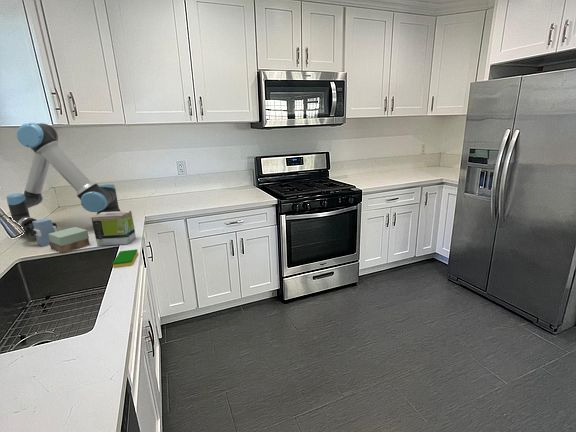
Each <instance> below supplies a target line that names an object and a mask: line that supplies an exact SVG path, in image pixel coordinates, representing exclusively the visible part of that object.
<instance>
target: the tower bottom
mask: <svg viewBox="0 0 576 432" xmlns="http://www.w3.org/2000/svg"><path fill="white" fill-rule="evenodd" d="M49 243H50V245H49V246H50V249H51V250H53V249H54V250H53V251H55V250H56V251H55V252H58V251H59V252H58V253H60V254H65V253H68V252H69V253H70V252H71V251H74V250H75V251H76V250H78V249H81V248H85V247H88V246H90V245H91V244H90V238H88V239H84V240H81V241H77V242H74V243H70V244H67V245H63V246H60V245H57V244H55V243H52V242H49Z"/></svg>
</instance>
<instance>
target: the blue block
mask: <svg viewBox="0 0 576 432" xmlns="http://www.w3.org/2000/svg"><path fill="white" fill-rule="evenodd" d="M32 223H33V227H34V229H37V230H40V231H41V235H42V236H37V235H35V237H36V241H37V245H39V246H41V247H46V246H50V243H49V242H50V239H49V235H48V234H49V233H53V232H54V229H53V224H52V223H53V220H52V219H51V218H41V219H36V221H32Z"/></svg>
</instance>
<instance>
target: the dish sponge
mask: <svg viewBox="0 0 576 432" xmlns="http://www.w3.org/2000/svg"><path fill="white" fill-rule="evenodd" d="M138 255H139V253H138V249H130V250H129V249H128V250H120V251H119V252H118V254H117V255H116V257H115V259H114V260H113V262H112V267H113V269H114V268H116V269H117V268H123V267H130V266H133V265H134V262H135V261H136V258H137V256H138Z"/></svg>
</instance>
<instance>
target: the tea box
mask: <svg viewBox="0 0 576 432" xmlns="http://www.w3.org/2000/svg"><path fill="white" fill-rule="evenodd" d="M90 219H91V223H92V228H93V233H94V236H95V237H94V238H95V241H96V246H115V245H128V244H130V243H131V242H133V241H134V240H135V239H136V238H137V237H136V229H135V225H134V224H135V223H134V219H133V213H132V211H131V210H120V211H116V212H101V213H99V214H97V213H96V215H93V216H91V217H90Z"/></svg>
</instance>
